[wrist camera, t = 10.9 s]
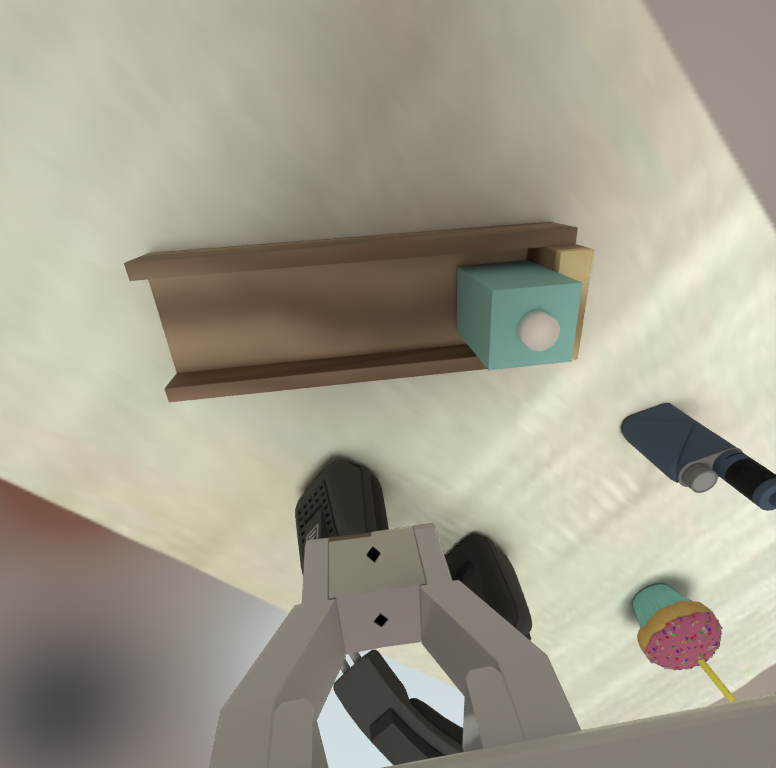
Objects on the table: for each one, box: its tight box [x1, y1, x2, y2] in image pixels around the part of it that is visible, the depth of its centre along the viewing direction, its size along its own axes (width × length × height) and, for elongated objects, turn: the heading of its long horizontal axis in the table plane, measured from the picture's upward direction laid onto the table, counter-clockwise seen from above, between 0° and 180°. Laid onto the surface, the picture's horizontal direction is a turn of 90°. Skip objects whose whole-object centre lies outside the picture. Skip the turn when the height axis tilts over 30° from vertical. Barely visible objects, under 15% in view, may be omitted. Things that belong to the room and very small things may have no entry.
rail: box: [124, 222, 594, 402], centre depth 28 cm, size 9×27×6 cm, turn 93°
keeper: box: [457, 260, 583, 370], centre depth 26 cm, size 5×5×8 cm
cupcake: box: [633, 584, 737, 702], centre depth 44 cm, size 9×8×12 cm
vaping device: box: [622, 403, 776, 511], centre depth 33 cm, size 3×5×12 cm, turn 109°
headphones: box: [295, 461, 532, 765], centre depth 31 cm, size 22×6×20 cm, turn 51°
